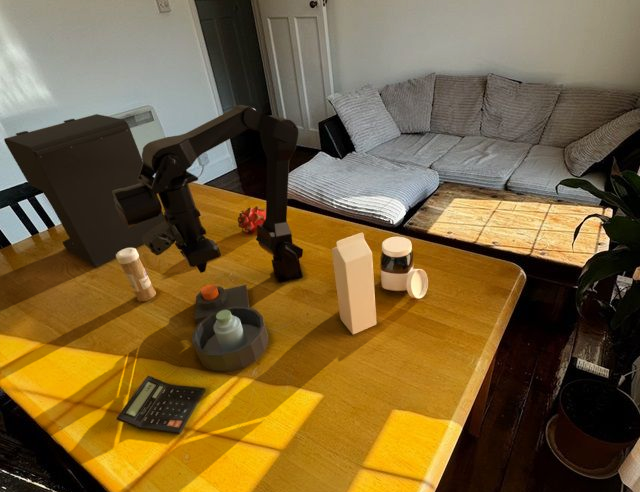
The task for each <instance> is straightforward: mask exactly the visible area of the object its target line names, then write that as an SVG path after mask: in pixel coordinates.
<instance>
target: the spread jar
mask: <svg viewBox="0 0 640 492" xmlns="http://www.w3.org/2000/svg"><path fill="white" fill-rule="evenodd" d="M412 245H413V244H412V242H411V240H410V239H408V238H407V237H403V236H392V237H388V238H386V239H384V240H383V241H382V242H381V254H380V258H379V259H380V264H379V266H380V268H379V269H380V285H381V288H382V289H383V290H385V291H387V292H389V293H394V294H400V293H406V292H407V294H408V296H410V297H411V298H412V299H422V298H424V296H425V295H426V294H427V291H428V287H429V278H428V275H427V273H426V271H425V270H424V269H422V268H414V262H415V261H414V259H415V258H414V251H413V248H412V247H413V246H412Z"/></svg>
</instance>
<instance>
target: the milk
mask: <svg viewBox="0 0 640 492" xmlns="http://www.w3.org/2000/svg"><path fill="white" fill-rule="evenodd" d="M335 245H336V246H335V247H333V248H331V258H332V264H333V273H334V280H335V288H336V295H337V303H338V312H339V318H340V321H341V322H342V323H343V324H344V325H345V327H346V328H347V330H349V332H350V333H351V334H352V336H354V335H356V334H358V333H360V332H363V331H365V330H367V329H369V328H372V327H374V326H377V310H376V297H375V296H376V294H375V280H374V277H375V276H374V261H373V252H372V250H371V248H370V246H369V245H368V243H367V241H366V239H365V234H364V232H359V233H356V234H353V235H351V236H348V237H344V238H341V239H338V240H337V241H335Z"/></svg>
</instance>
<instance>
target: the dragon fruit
mask: <svg viewBox="0 0 640 492" xmlns="http://www.w3.org/2000/svg"><path fill="white" fill-rule="evenodd" d="M265 219H266V208H262V209H261V208H260V206H258V205H257V206H255V207H254V208H252V206H250V207H247V208H246V210H245V209H242V210H241V212H240V213H239V215H238V217H237V223H238V227H239V228H241V232H242V233H250V234H253V233H254V232H256V233H257V225H262V224H263V223H264V221H265Z"/></svg>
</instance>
